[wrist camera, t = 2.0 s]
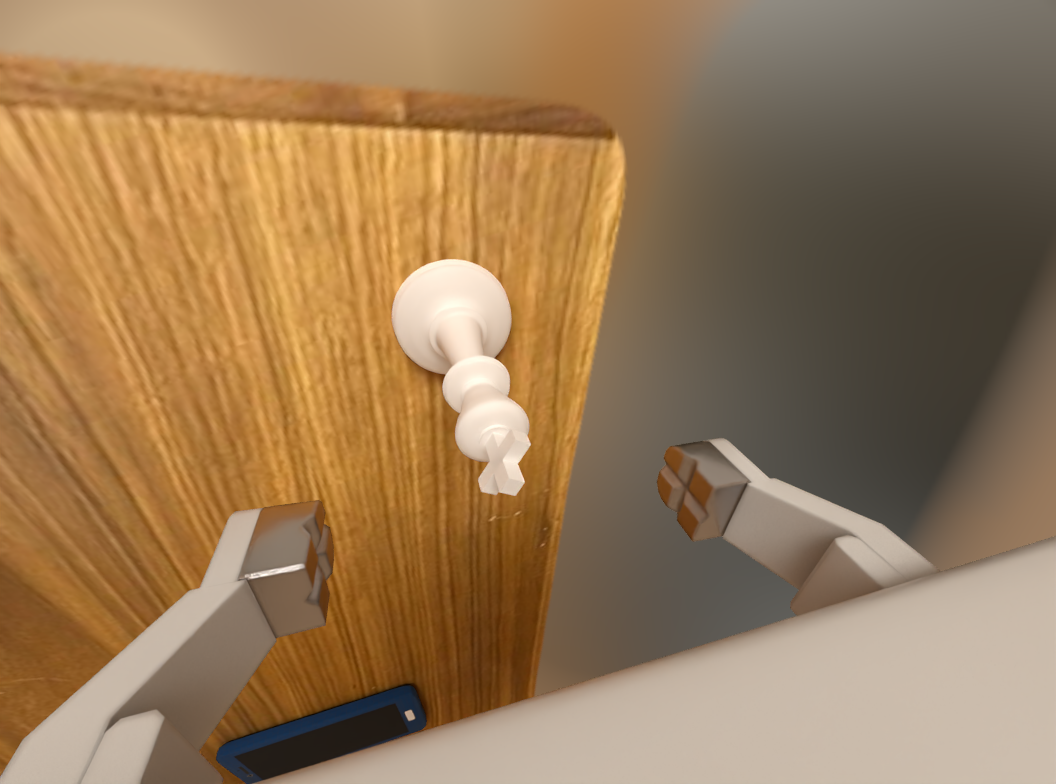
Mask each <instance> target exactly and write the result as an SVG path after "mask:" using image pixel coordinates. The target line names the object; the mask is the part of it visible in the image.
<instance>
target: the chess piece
mask: <svg viewBox="0 0 1056 784" xmlns="http://www.w3.org/2000/svg"><path fill="white" fill-rule="evenodd" d="M392 324H393V329H394V332H395V335H396V337H397V340H398V342H399V344H400V346H401V348H402V349H403V351H404V352H405V353H406V355H407V356H408V357H409V358H410V359H411V360H412V361H414V362H415V363H416V364H418V365H419V366H421V367H423V368H424V369H427V370H429V371H432V372H435V373H439V374H446V376H445V378H444V381H443V386H442V389H443V395H444V398H445V400H446V401H447V403H448V404H449V405H450V406H451V407H452V408H453V409H454V410H455V411H457V412H458V413H460V415H459V417H458V420H457V424H456V429H455V439H456V443H457V446H458V448H459V449H460V451H461V452H462V453H463V454H464V455H466V456H467V457H469V458H471V459H473V460H476V461H480V462H489V463H488V465H487V466H486V468H485V469H484V471H483V472H482V474H481V475H480V477H479V478H478V481H479V485H480V489H481V492H485V493H489V494H494V495H497V493H498V492H500V493H505V494H509V495H514V496H516V494H517V493H518V492H519V490H520V489H521V487H522V486H523V485H524V483H525V481H524V479H523V476H522V474H521V471H520V468H519V466H518V463H519V461H520V460H521V459H522V457H523V456H524V454H525V453H526V451H527V450H528V448H529V447H530V445H531V443H530V441H529V439H528V437H527V436H528V432H529V420H528V417H527V415H526V413H525V412H524V410H523V409H522V408H521V407H520V406H519V405H518V404H517V403H516V402H514V401H513V400H511V399H510V398H508V397H507V396H508V393H509V389H510V377H509V373H508V371H507V369H506V368H505V366H504V365H503V364H502V363H501V362H499V361H498V360H496V359H494V358H495V357H496V356H497V355H498V354H499V352H500V351H501V350H502V348H503V347H504V345H505V343H506V341H507V339H508V336H509V333H510V329H511V309H510V305H509V301H508V298H507V295H506V292H505V290H504V289H503V287H502V285H501V284H500V282H499V281H498V280H497V279H496V278H495V277H494V276H493V275H492V274H491V273H490V272H489V271H487V270H486V269H484V268H483V267H481V266H479V265H477V264H474V263H472V262H468V261H464V260H456V259H447V260H440V261H435V262H432V263H429V264H427V265H425V266H423V267H421V268H419V269H418V270H416V271H415V272H413V273H412V274H411V275H410V276H409V277H408V278H407V279H406V280H405V281H404V282H403V284H402V285H401V286H400V288H399V290H398V292H397V294H396V296H395V299H394V302H393V307H392Z"/></svg>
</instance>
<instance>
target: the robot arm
mask: <svg viewBox="0 0 1056 784" xmlns="http://www.w3.org/2000/svg"><path fill="white" fill-rule="evenodd" d="M664 460H665V462H666V463H667V464H666V465H665V466H664V468H663V469H661V471H660V472H659V476H658V480H657V484H658V491H659V494H660V496H661V499H662V500H663V502H664V503H665V505H666V506H667V507H668V508H670V509H672V510H674V511H675V512H677V514H678V515H677V521H678V522H679V524H680V525H681V526H682V528H683V529H684V530H685V532H686V533H687V534H688V536H689V537H690V539H691V540H692V541H693V542H694V541H699V540H704V539H710V538H715V537H719V536H723V537H722V538H723V539H725V540H727V541H728V542H729V543H731V544H732V545H734V546H735V547H737V548H738V549H740V550H741V551H742V552H744V553H746V554H747V555H749V556H750V557H751V558H753V559H754V560H756V561H757V562H759V563H760V564H762V565H763V566H765V567H766V568H768V569H769V570H771V571H772V572H774V573H775V574H776V575H778V576H779V577H781V578H782V579H784V580H785V581H787V582H788V583H790V584H791V585H793V586H794V587H796V588H797V589H799V591H798V592H797V594H796V595H795V597H794V598H793V600H792V601H791V607H790V608H791V609H792V610H793V612H794V613H795V614H796V615H797V616H795V617H792V618H788V619H785V620H782V621H779V622H775V623H772V624H769V625H766V626H763V627H759V628H756V629H753V630H749V631H746V632H743V633H740V634H736V635H733V636H730V637H727V638H724V639H721V640H717V641H714V642H711V643H708V644H704V645H701V646H698V647H694V648H691V649H688V650H684V651H681V652H678V653H675V654H671V655H669V656H665V657H662V658H658V659H655V660H652V661H649V662H645V663H643V664H639V665H636V666H633V667H629V668H626V669H623V670H620V671H616V672H613V673H610V674H607V675H603V676H600V677H597V678H594V679H591V680H587V681H584V682H581V683H577V684H574V685H571V686H568V687H564V688H561V689H558V690H555V691H552V692H548V693H545V694H542V695H539V696H535V697H532V698H529V699H525V700H522V701H519V702H516V703H512V704H509V705H506V706H503V707H499V708H496V709H493V710H490V711H486V712H483V713H480V714H477V715H474V716H470V717H467V718H464V719H461V720H457V721H454V722H451V723H448V724H444V725H441V726H438V727H435V728H431V729H428V730H425V731H422V732H418V733H415V734H412V735H409V736H406V737H402V738H399V739H396V740H393V741H389V742H386V743H383V744H380V745H376V746H373V747H370V748H367V749H363V750H360V751H357V752H354V753H350V754H347V755H344V756H341V757H337V758H334V759H331V760H328V761H325V762H321V763H318V764H315V765H312V766H308V767H305V768H302V769H299V770H295V771H292V772H289V773H286V774H282V775H279V776H276V777H273V778H269V779H266V780H263V781H260V782H257V783H253V784H1056V536H1054V537H1051V538H1048V539H1044V540H1041V541H1038V542H1035V543H1032V544H1028V545H1025V546H1022V547H1019V548H1016V549H1012V550H1009V551H1006V552H1002V553H999V554H996V555H993V556H990V557H986V558H983V559H980V560H976V561H974V562H970V563H967V564H964V565H961V566H957V567H954V568H950V569H947V570H944V571H940V570H939V569H937V568H936V567H935V566H934V565H932V564H931V563H930V562H929V561H927V560H926V559H925V558H924V557H922V556H921V555H920V554H919V553H918V552H916V551H915V550H914V549H912V548H911V547H910V546H909V545H907V544H906V543H905V542H904V541H903V540H901V539H900V538H899V537H898V536H896V535H895V534H894V533H893V532H891V531H890V530H889V529H888V528H886V527H885V526H884V525H882V524H880V523H878V522H875V521H873V520H871V519H868V518H866V517H864V516H861V515H859V514H857V513H854V512H852V511H850V510H847V509H845V508H843V507H840V506H838V505H836V504H833V503H831V502H829V501H826V500H824V499H822V498H820V497H817V496H815V495H813V494H810V493H808V492H806V491H803V490H801V489H799V488H796V487H794V486H792V485H789V484H787V483H785V482H782V481H780V480H778V479H776V478H775V479H769V478H768V477H767V476H766V475H765V474H764V473H763V472H762V471H761V470H760V469H758V468H757V467H756V466H755V465H754V464H753V463H752V462H751V461H750V460H749V459H747V458H746V457H745V456H744V455H743V454H742V453H741V452H740V451H739V450H738V449H737V448H735V447H734V446H733V445H732V444H731V443H730V442H729V441H728V440H725V439H723V438H717V439H711V440H705V441H700V442H693V443H688V444H681V445H675V446H670V447H669V448H668V449H667V451H666V453H665V456H664ZM325 513H326V512H325V509H324V507H323V504H322V501H320V500H316V501H308V502H300V503H293V504H285V505H277V506H270V507H264V508H259V509H251V510H243V511H235V512H234V513H233V514H232V515H231V516H230V517H229V519H228V521H227V523H226V526H225V528H224V531H223V533H222V535H221V538H220V540H219V543H218V545H217V547H216V550H215V552H214V555H213V557H212V559H211V562H210V564H209V567H208V569H207V572H206V574H205V576H204V579H203V581H202V584H201V586H200V588H198V589H193V590H189V591H188V592H187V593H186V594H185V595H184V596H183V597H182V598H181V599H179V600H178V601H177V602H176V603H175V604H174V605H173V606H172V607H170V608H169V609H168V610H167V611H166V612H165V613H164V614H163V615H162V616H160V617H159V618H158V619H157V620H156V621H155V622H154V623H153V624H151V625H150V626H149V627H148V628H147V629H146V630H145V631H144V632H143V633H141V634H140V635H139V636H138V637H137V638H136V639H135V640H134V641H132V642H131V643H130V644H129V645H128V646H127V647H126V648H125V649H124V650H122V651H121V652H120V653H119V654H118V655H117V656H116V657H115V658H113V659H112V660H111V661H110V662H109V663H108V664H107V665H106V666H105V667H103V668H102V669H101V670H100V671H99V672H98V673H97V674H96V675H94V676H93V677H92V678H91V679H90V680H89V681H88V682H87V683H86V684H84V685H83V686H82V687H81V688H80V689H79V690H78V691H77V692H76V693H74V694H73V695H72V696H71V697H70V698H69V699H68V700H67V701H65V702H64V703H63V704H62V705H61V706H60V707H59V708H58V709H57V710H55V711H54V712H53V713H52V714H51V715H50V716H49V717H48V718H46V719H45V720H44V721H43V722H42V723H41V724H40V725H39V726H38V727H36V728H35V729H34V730H33V731H32V732H31V733H30V734H29V735H27V736H26V737H25V738H24V739H23V740H22V742H21V743H20V745H19V747H18V748H17V750H16V752H15V753H14V755H13V757H12V758H11V760H10V762H9V763H8V765H7V767H6V768H5V770H4V772H3V773H2V775H1V777H0V784H222V783H223V778H222V776H221V775H220V774H219V772H218V771H217V770H216V769H215V768H214V767H213V766H212V765H211V764H210V763H209V762H208V761H207V760H206V759H205V758H204V757H203V756H202V755H201V754H200V753H199V750H200V749H201V748H202V746H203V745H204V743H205V742H206V740H207V739H208V738H209V736H210V735H211V733H212V732H213V730H214V729H215V728H216V726H217V725H218V723H219V722H220V721H221V719H222V718H223V716H224V715H225V713H226V712H227V711H228V709H229V708H230V706H231V705H232V703H233V702H234V701H235V699H236V698H237V696H238V695H239V694H240V692H241V691H242V689H243V688H244V686H245V685H246V684H247V682H248V681H249V679H250V678H251V676H252V675H253V674H254V672H255V671H256V669H257V668H258V667H259V665H260V664H261V662H262V661H263V659H264V658H265V657H266V655H267V654H268V652H269V651H270V649H271V648H272V647H273V645H274V644H275V642H276V638H278V637H282V636H286V635H290V634H294V633H298V632H302V631H305V630H309V629H313V628H317V627H321V626H325V625H326V618H327V611H328V603H329V596H330V592H329V589H328V586H327V583H326V580H327V579H328V578H329V577H330V575H331V574H332V572H333V563H334V545H333V538H332V533H331V530H330V527H328V526H327V525H325V524H324V520H325Z"/></svg>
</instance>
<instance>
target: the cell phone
mask: <svg viewBox="0 0 1056 784" xmlns="http://www.w3.org/2000/svg"><path fill="white" fill-rule="evenodd" d="M426 722H427V720H426V714H425V712H424V709H423V707H422V704H421V702H420V699H419V697H418V694H417V692H416V690H415V688H414V687H413V686H410V685H405V686H401V687H398V688H395V689H392V690H389V691H386V692H383V693H379V694H376V695H373V696H370V697H367V698H364V699H361V700H358V701H355V702H352V703H349V704H345V705H342V706H339V707H336V708H333V709H330V710H327V711H324V712H321V713H318V714H315V715H311V716H308V717H305V718H302V719H299V720H296V721H293V722H290V723H287V724H284V725H281V726H277V727H274V728H271V729H268V730H265V731H262V732H259V733H256V734H253V735H250V736H247V737H243V738H240V739H237V740H234V741H231V742H228V743H226V744H224V745H223V746H221V747H220V748H219V750H218V752H217V757H216V760H217V761H218V763H219V764H221V765H222V766H223V767H225V768H226V769H227V770H229V771H230V772H231V773H233V774H234V775H236V776H237V777H238V778H240V779H241V780H242V781H244V782H245V783H246V784H253V783H257V782H260V781H263V780H266V779H269V778H273V777H276V776H279V775H282V774H286V773H289V772H292V771H295V770H299V769H302V768H305V767H308V766H312V765H315V764H318V763H321V762H325V761H328V760H331V759H334V758H337V757H341V756H344V755H347V754H350V753H354V752H357V751H360V750H363V749H367V748H370V747H373V746H376V745H380V744H383V743H385V742H388V741H391V740H394V739H397V738H400V737H402V736H405V735H408V734H411V733H414V732H417V731H420V730H422V729H423V728H424V727H425V726H426Z"/></svg>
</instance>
